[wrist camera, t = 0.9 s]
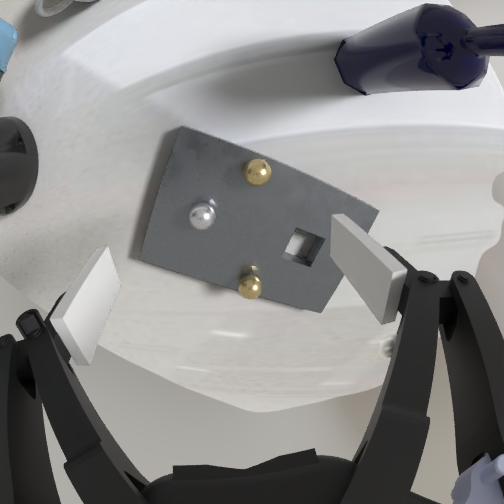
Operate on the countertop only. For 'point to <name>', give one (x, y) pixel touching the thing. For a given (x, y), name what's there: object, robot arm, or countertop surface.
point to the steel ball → (202, 216)
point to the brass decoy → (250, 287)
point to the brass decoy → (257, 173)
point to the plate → (247, 222)
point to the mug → (55, 9)
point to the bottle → (419, 52)
